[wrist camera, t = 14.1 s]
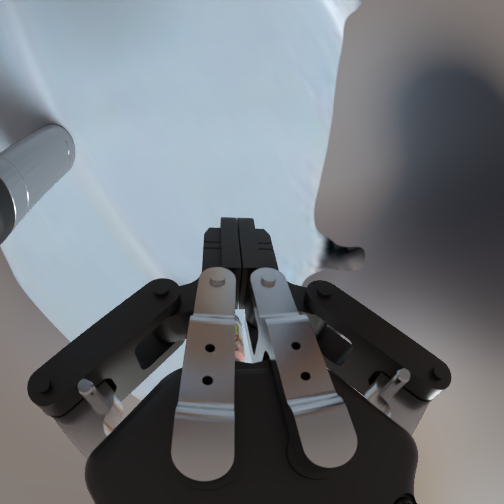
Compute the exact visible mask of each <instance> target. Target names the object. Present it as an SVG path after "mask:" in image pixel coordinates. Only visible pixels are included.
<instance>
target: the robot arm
mask: <svg viewBox="0 0 504 504" xmlns="http://www.w3.org/2000/svg"><path fill="white" fill-rule="evenodd" d="M74 158H75V147H74V143H73V140H72V138H71V136H70V135H69V133H68V132H67V131H66V130H65V129H64V128H62V127H60V126H58V125H46V126H44V127H42V128H40V129H38V130H37V131H35V132H33V133H31V134H29V135H28V136H26V137H24V138H23V139H21V140H19V141H18V142H16V143H14V144H13V145H11V146H10V147H8V148H7V149H5V150H4V151H2V152H1V153H0V244H2V243H3V241H4V240H5V239H6V238H7V237H8V235H9V234H10V233H11V232H12V230H13V229H14V228H15V227H16V226H17V224H18V223H19V222H20V221H21V220H22V219H23V217H24V216H25V215H26V214H27V213H28V212H29V210H30V209H31V208H32V207H33V206H34V205H35V204H36V203H37V202H38V201H39V200H40V199H41V198H42V196H43V195H44V194H45V193H46V192H47V191H48V190H49V189H50V188H51V187H52V186H53V185H54V184H55V183H56V182H57V181H58V180H60V179H61V178H62V177H63V176H64V175H65V174H66V173H67V172H68V171H69V170H70V168H71V166H72V165H73V162H74ZM238 304H239V309H245V314H246V316H245V329H246V334H247V339H248V344H249V349H250V354H251V359H252V363H245V362H240V361H235V309H237V308H238ZM329 325H330V326H331V327H333V328H334V329H336V330H337V331H338V332H340V333H341V334H342V335H344V336H345V337H346V338H348V339H349V340H350V341H351V343H352V344H350V343H349V342H347V341H346V340H345V339H343V338H342V337H341V336H339V335H338V334H337V333H335V332H334V331H333V330H331V329H330V328H329V327H328V326H329ZM185 339H187V340H186V347H185V354H184V361H183V368H180V369H178V370H176V371H174V372H172V373H170V374H169V375H167V376H166V377H165V378H164V379H162V380H161V381H160V382H159V383H158V385H157V386H156V387H155V388H154V389H153V390H152V391H151V392H150V393H149V394H148V395H147V396H146V397H145V398H144V399H143V400H142V401H141V402H140V403H139V404H138V405H137V407H135V408H134V410H133V411H132V412H131V413H130V414H129V415H128V416H127V417H126V418H125V419H124V420H123V421H122V422H121V423H120V424H119V425H118V426H117V427H116V428H115V426H116V424H117V423H118V421H120V419H121V417H122V414H123V406H122V403H121V401H122V400H123V399H125V397H127V396H128V395H129V394H130V393H131V392H132V391H133V390H134V389H135V388H136V387H137V386H139V385H140V384H141V383H142V382H143V381H144V380H145V379H146V378H147V377H148V376H149V375H150V374H151V373H152V372H153V371H155V370H156V369H157V368H158V367H159V366H160V365H161V364H162V363H163V362H164V361H165V360H166V359H167V358H168V357H169V356H170V355H171V354H172V353H174V352H175V351H176V350H177V349H178V348H179V347H180V346H181V345H182V344H183V342H184V341H185ZM327 368H328V369H327ZM329 369H330V370H329ZM342 379H343V380H342ZM450 382H451V373H450V370H449V368H448V367H447V365H446V364H445V363H444V362H443V361H441V360H440V359H439V358H437V357H436V356H435V355H433V354H432V353H430V352H429V351H428V350H426V349H425V348H423V347H422V346H421V345H419V344H418V343H416V342H415V341H414V340H412V339H411V338H409V337H408V336H407V335H405V334H404V333H402V332H401V331H399V330H398V329H397V328H395V327H394V326H392V325H391V324H390V323H388V322H387V321H385V320H384V319H382V318H381V317H380V316H378V315H377V314H375V313H374V312H372V311H371V310H370V309H368V308H367V307H365V306H364V305H362V304H361V303H359V302H358V301H357V300H355V299H354V298H352V297H351V296H349V295H348V294H346V293H345V292H344V291H342V290H340V289H339V288H338V287H336V286H335V285H333V284H332V283H329V282H327V281H322V280H318V281H313V282H311V283H310V284H309V285H308V287H307V288H306V287H302V286H297V285H294V284H291V283H289V282H287V281H286V278H285V276H284V275H283V274H282V273H281V272H279V270H278V266H277V262H276V258H275V254H274V250H273V246H272V242H271V238H270V235H269V234H268V233H267V232H266V231H265V230H264V229H255V225H254V220H253V218H226V217H221V224H220V228H209V229H208V230H207V231H206V233H205V234H204V247H203V264H202V273H201V274H200V277H199V278H198V279H197V280H196V281H194V282H192V283H190V284H187V285H182V286H178V284H177V283H176V282H174V281H173V280H170V279H165V278H161V279H156V280H153V281H151V282H149V283H148V284H146V285H145V286H144V287H142V288H141V289H140V290H138V291H137V292H136V293H134V294H133V295H132V296H130V297H129V298H128V299H126V300H125V301H124V302H122V303H121V304H120V305H118V306H117V307H116V308H114V309H113V310H112V311H110V312H109V313H108V314H107V315H105V316H104V317H103V318H101V319H100V320H99V321H97V322H96V323H95V324H94V325H92V326H91V327H90V328H88V329H87V330H86V331H85V332H83V333H82V334H81V335H80V336H78V337H77V338H76V339H74V340H73V341H72V342H71V343H69V344H68V345H67V346H66V347H65V348H63V349H62V350H61V351H60V352H58V353H57V354H56V355H55V356H53V357H52V358H51V359H50V360H48V362H46V363H45V364H44V365H42V366H41V367H40V368H39V369H37V371H35V372H34V373H33V374H32V375H31V377H30V379H29V381H28V387H27V390H28V395H29V397H30V399H31V400H32V401H33V402H34V403H35V404H36V405H37V406H38V407H40V408H41V409H42V410H43V412H44V413H45V414H47V415H48V416H49V417H50V418H51V419H53V420H54V421H55V422H56V423H57V424H58V425H59V426H60V428H61V429H62V430H63V432H64V433H65V434H66V435H67V437H68V438H69V439H70V440H71V442H72V443H73V444H74V445H75V446H76V447H77V449H78V450H79V451H80V452H81V453H82V454H83V455H84V457H85V458H86V459H87V462H86V466H85V481H86V485H87V488H88V490H89V493H90V495H91V497H92V498H93V500H94V502H95V504H417V503H416V501H415V498H414V478H415V472H416V468H417V463H418V450H417V446H416V443H415V441H414V439H413V438H412V436H411V435H412V434H413V432H414V430H415V429H416V427H417V425H418V423H419V421H420V420H421V418H422V416H423V414H424V412H425V410H426V408H427V406H428V404H429V402H431V401H432V400H433V399H434V398H435V397H437V396H438V395H439V394H440V393H441V392H442V391H444V390H445V389H446V388H447V387H448V386H449V384H450ZM347 383H348V384H347ZM351 386H352V387H353V388H355V389H356V390H357V391H358V392H360V393H361V394H362V395H364V396H365V397H363V396H362V395H361V394H360V393H358V392H357V391H356V390H355V389H353V388H352V387H351Z"/></svg>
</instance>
